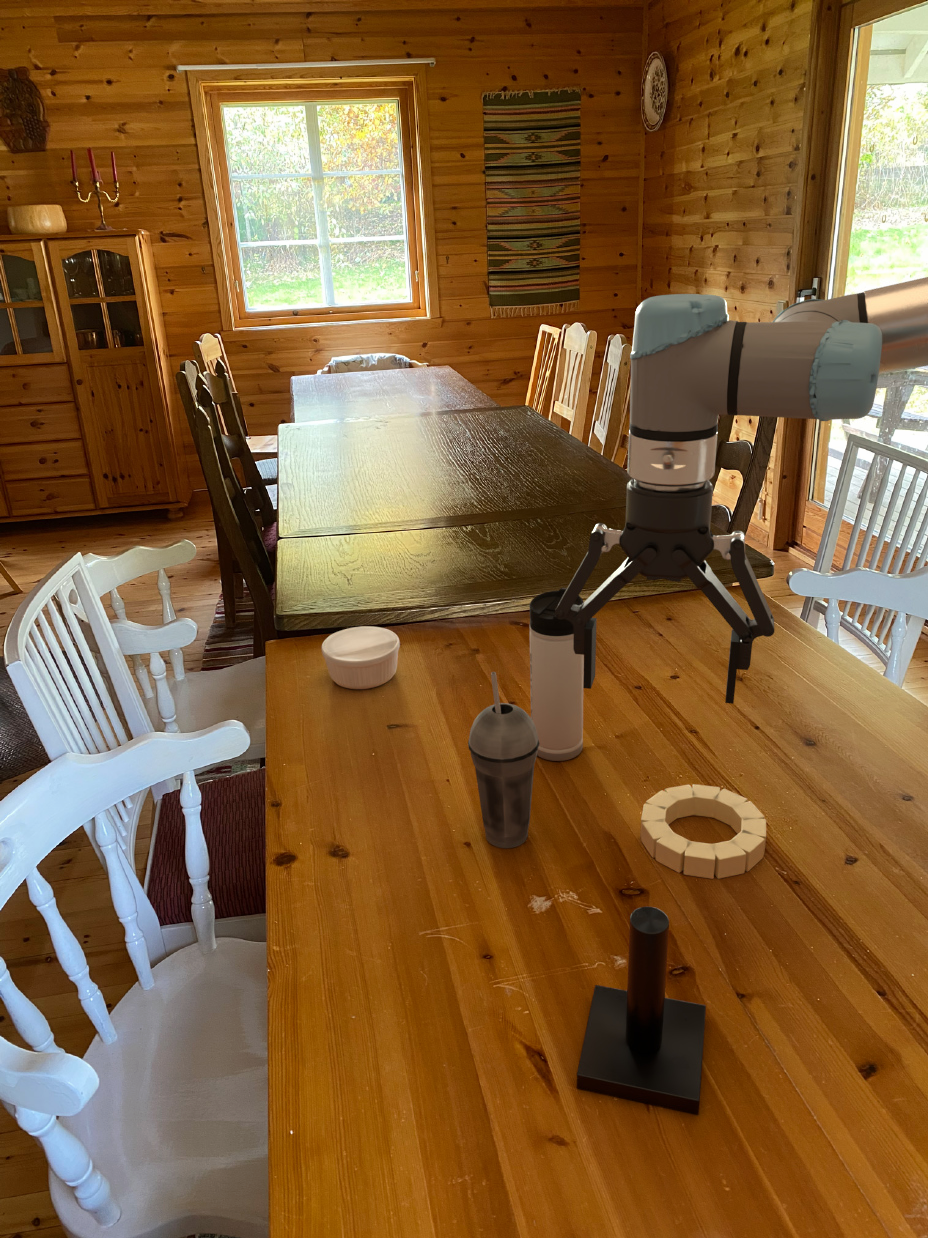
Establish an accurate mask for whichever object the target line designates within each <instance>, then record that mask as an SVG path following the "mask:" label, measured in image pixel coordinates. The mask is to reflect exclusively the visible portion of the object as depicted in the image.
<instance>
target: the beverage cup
mask: <svg viewBox="0 0 928 1238" xmlns="http://www.w3.org/2000/svg"><path fill="white" fill-rule="evenodd" d="M490 679H491V687H492V694H493V702H494V703H493V704H492V705H489V706H487V707H485V708H484V709H483V710H482V711H480V712H479V713H478V715H477V716H476V717H475V719H474V720H473V723H472V725H471V727H470V730H469V737H468V740H467V741H468V742H467V745H468V747H467V748H468V750H469V751H470V757H471V760H472V764H473V766H474V770H475V775H476V784H477V791H478V798H479V804H480V810H481V818H482V824H483V825H482V826H483V828H484V833H485V838H486V841H487V842H488V843H489V844H491V845H492V846H494V847H496V848H499V849H501V848H502V849H513V848H516V847H517V848H518V847H519V846H521V845H522V844H524V843H525V842H526V841H527V839H528V837H529V827H530V823H531V810H532V798H533V784H534V773H535V772H534V771H535V764H536V760H537V757H538V755H537V751H538V747H539V744H540V743H539V739H538V735H537V731H536V727H535V724H534V722H533V720H532V719H531V715H529V713H527V712H526V711H525V710H524V709H523V708H521V707H520V706H517V705H515V704H511V703H507V702H500V694H499V693H500V692H499V687H498V677H497V673H496V671H492V672H490Z"/></svg>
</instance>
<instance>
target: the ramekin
mask: <svg viewBox="0 0 928 1238" xmlns="http://www.w3.org/2000/svg"><path fill="white" fill-rule="evenodd" d="M400 647H401V641H400V638H399V636H398V635H397V634H396V633H395V632H393V631H392V630H390V629H388V628H384V627H380V626H370V625H369V626H368V625H367V626H355V627H349V628H346V629H342V630H339V631H336V632H334V633H331V634H330V635H329V636H328V637H326V638H325V639H324V641H323V642H322V644H321V654H322V657H323V658H324V660H325V664H326V667H327V670H328V674H329V677H330V679H331V680H332V681H333V682H334V683H335V684H337V685H338V686H339V687H342V688H346V689H351V690H367V689H368V690H369V689H373V688H378V687H380V686H382V685H384V684H386V683H388V682H389V681H390V680H391V679H392V678H393V677H394V675H395V674H396V672H397V669H398V658H399V651H400Z"/></svg>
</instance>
